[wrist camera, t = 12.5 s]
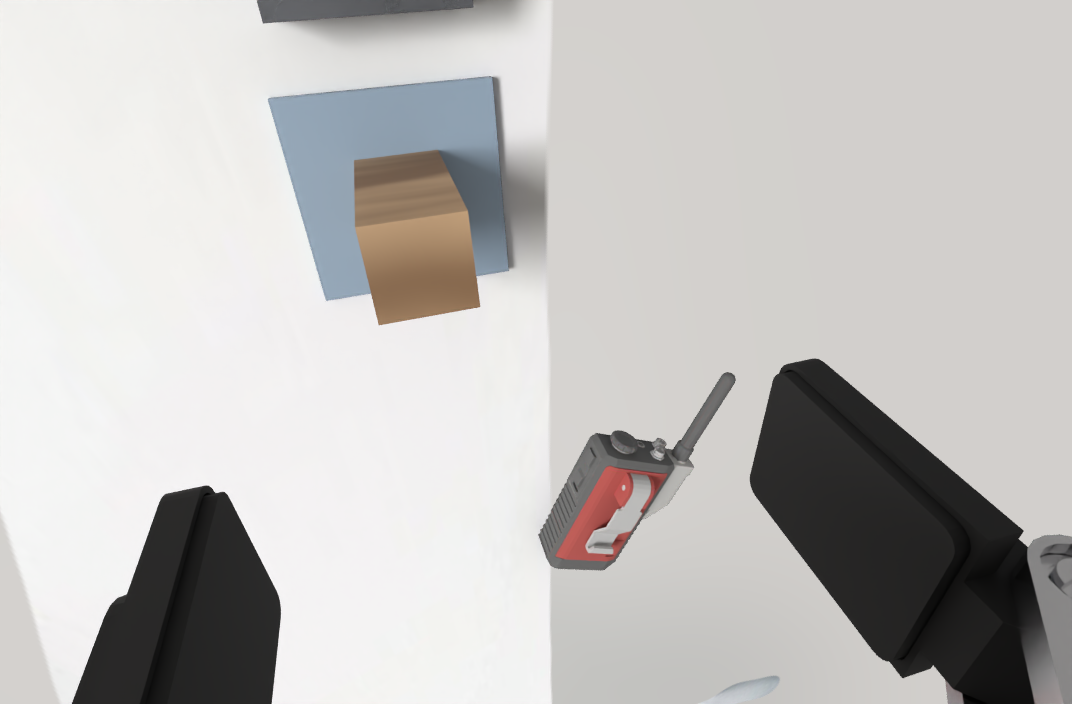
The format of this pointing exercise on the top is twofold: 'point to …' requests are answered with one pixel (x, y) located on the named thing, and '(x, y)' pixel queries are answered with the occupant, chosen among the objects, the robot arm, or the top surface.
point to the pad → (384, 130)
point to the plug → (413, 237)
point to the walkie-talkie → (619, 490)
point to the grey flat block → (348, 8)
